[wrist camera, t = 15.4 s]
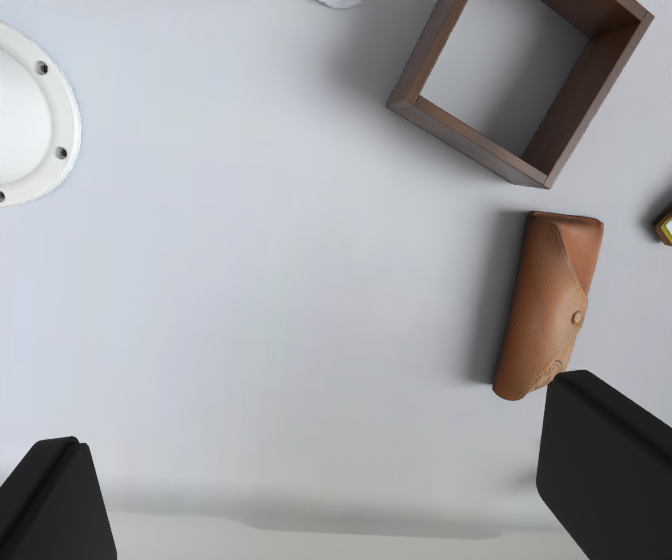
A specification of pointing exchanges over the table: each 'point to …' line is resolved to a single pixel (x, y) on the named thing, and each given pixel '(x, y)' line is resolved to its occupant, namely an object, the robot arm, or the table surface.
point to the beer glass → (341, 3)
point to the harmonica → (664, 226)
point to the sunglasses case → (547, 300)
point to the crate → (566, 111)
